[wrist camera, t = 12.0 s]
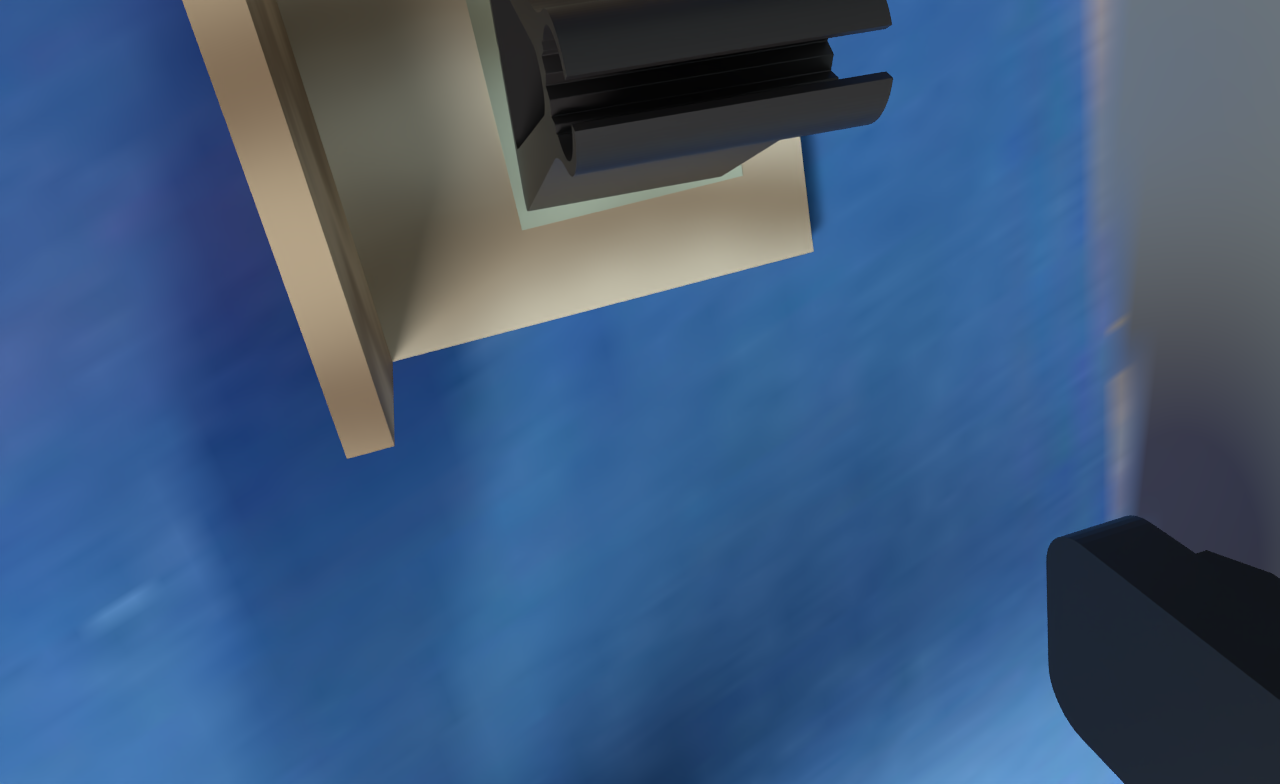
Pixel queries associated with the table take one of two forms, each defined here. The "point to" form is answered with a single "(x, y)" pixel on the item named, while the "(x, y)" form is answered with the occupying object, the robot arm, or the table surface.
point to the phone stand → (671, 87)
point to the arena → (443, 193)
